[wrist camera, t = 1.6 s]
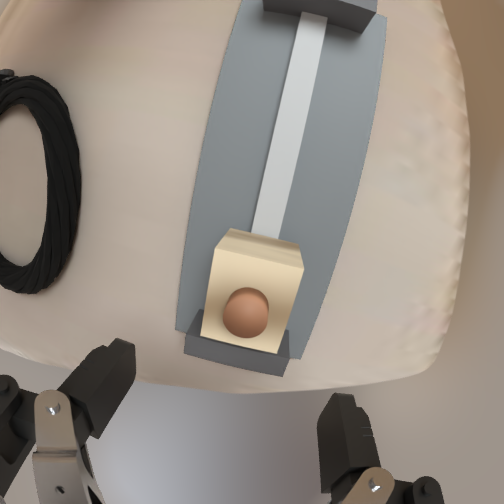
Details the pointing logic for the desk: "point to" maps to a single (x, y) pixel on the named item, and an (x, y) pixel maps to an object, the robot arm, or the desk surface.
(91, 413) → the robot arm
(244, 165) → the rail board
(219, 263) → the keeper
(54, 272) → the cable lock
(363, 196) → the desk surface
